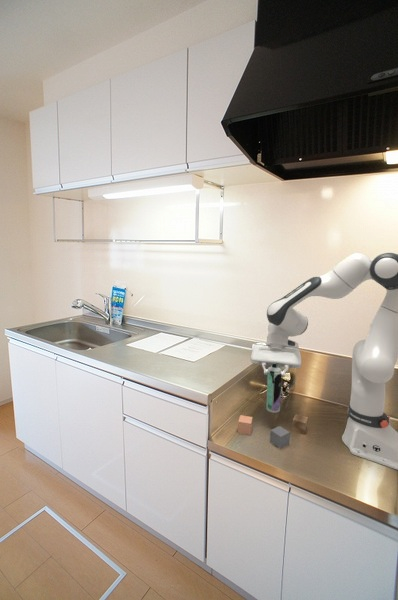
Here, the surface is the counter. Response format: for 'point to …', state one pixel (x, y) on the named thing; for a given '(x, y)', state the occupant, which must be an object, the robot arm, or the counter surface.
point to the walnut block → (300, 424)
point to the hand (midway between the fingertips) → (274, 375)
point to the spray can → (273, 388)
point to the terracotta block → (245, 425)
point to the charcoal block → (279, 437)
